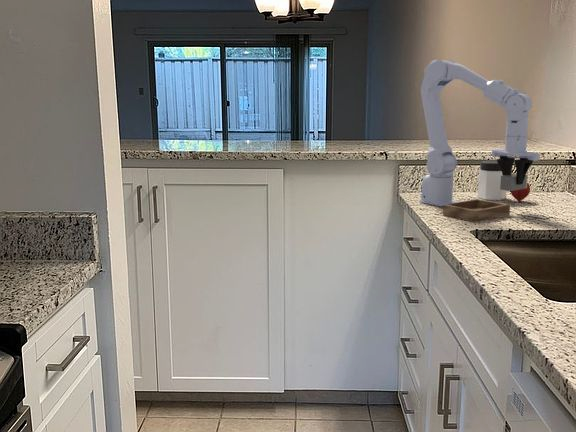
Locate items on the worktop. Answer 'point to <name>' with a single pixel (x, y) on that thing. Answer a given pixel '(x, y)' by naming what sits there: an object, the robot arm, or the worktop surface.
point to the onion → (521, 193)
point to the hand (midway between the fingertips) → (513, 183)
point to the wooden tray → (476, 210)
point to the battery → (512, 183)
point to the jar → (490, 181)
